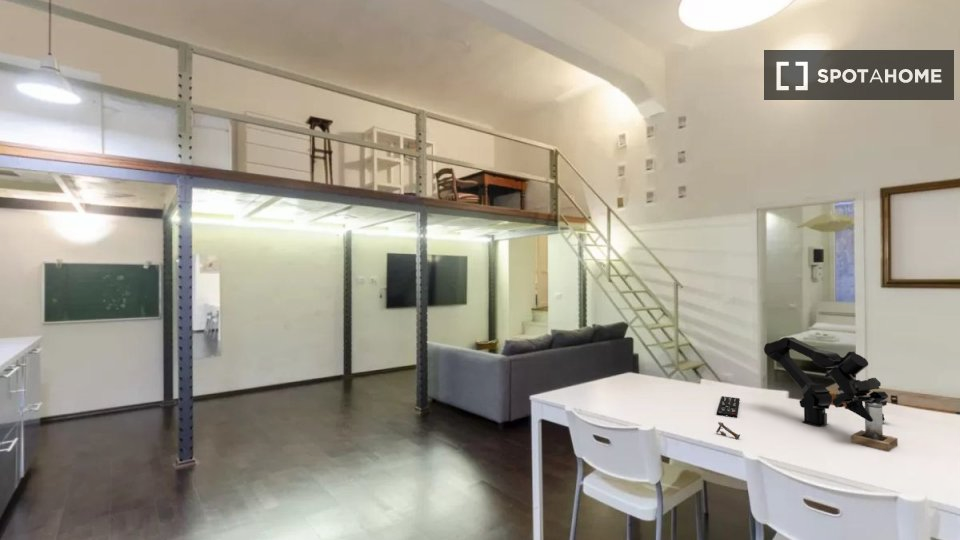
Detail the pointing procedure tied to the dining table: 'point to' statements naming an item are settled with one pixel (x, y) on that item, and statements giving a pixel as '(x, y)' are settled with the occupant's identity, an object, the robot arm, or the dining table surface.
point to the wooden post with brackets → (726, 430)
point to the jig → (874, 441)
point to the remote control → (728, 407)
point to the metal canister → (874, 421)
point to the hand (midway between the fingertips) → (877, 420)
